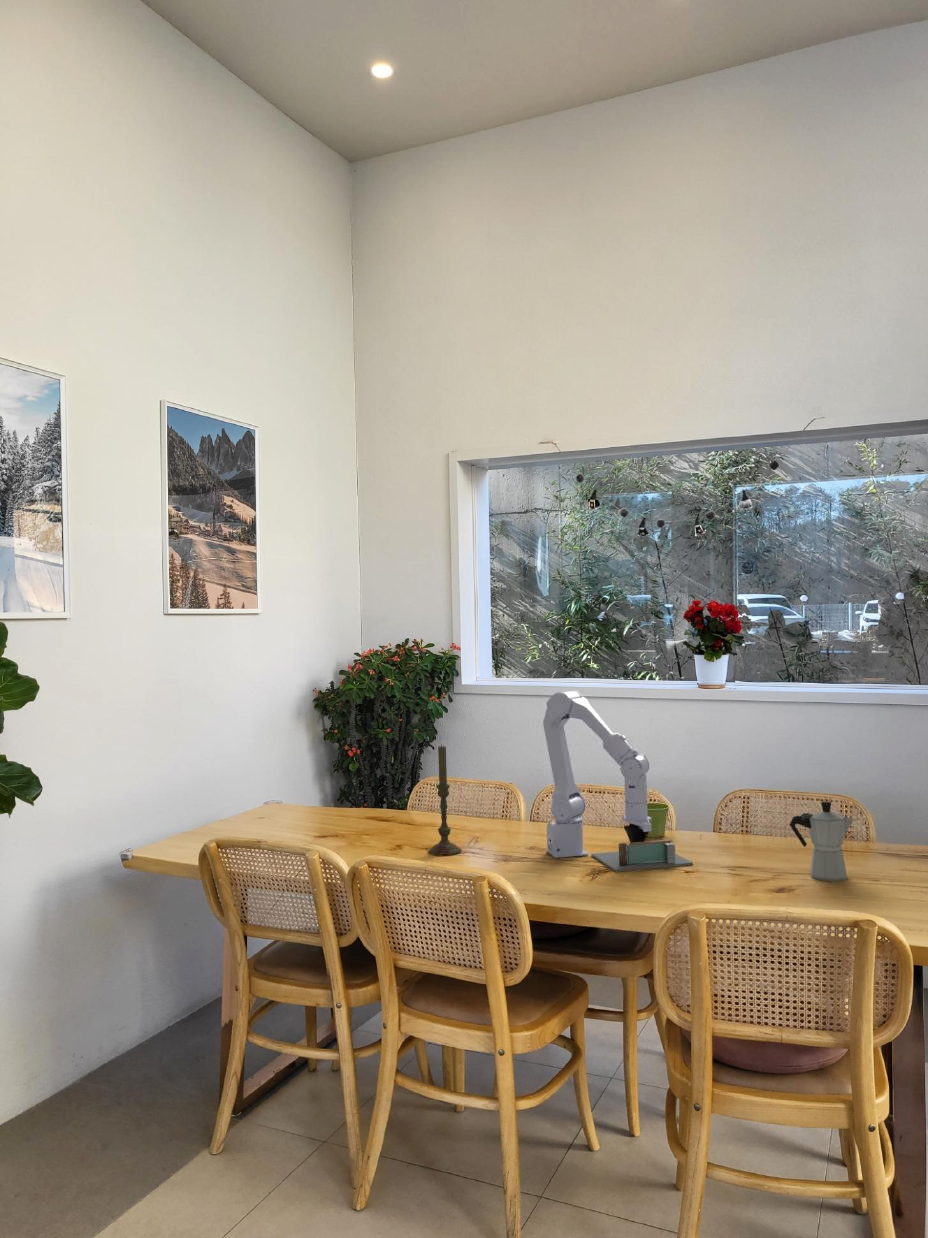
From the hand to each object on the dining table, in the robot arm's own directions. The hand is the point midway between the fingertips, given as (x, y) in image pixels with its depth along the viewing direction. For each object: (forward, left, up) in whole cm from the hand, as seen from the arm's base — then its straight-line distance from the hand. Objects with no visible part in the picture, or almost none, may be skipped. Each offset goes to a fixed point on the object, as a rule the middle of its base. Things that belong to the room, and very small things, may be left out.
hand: (637, 853), depth 244 cm
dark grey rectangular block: (+6, -7, -2) cm, 9 cm away
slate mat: (+1, 0, -2) cm, 2 cm away
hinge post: (-6, -5, -2) cm, 8 cm away
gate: (+2, -5, -1) cm, 5 cm away
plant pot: (+16, +25, -2) cm, 30 cm away
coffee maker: (+36, -28, -2) cm, 46 cm away
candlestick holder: (-46, +26, -2) cm, 53 cm away
